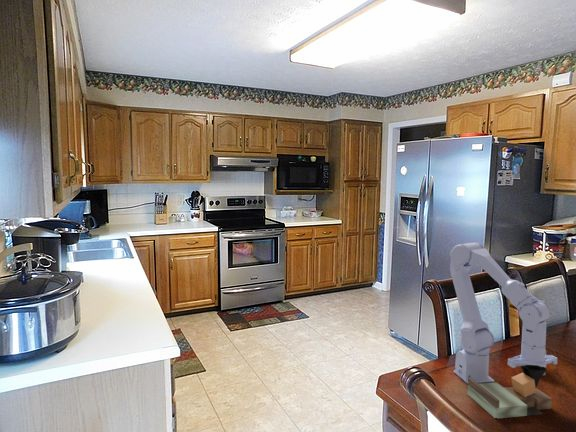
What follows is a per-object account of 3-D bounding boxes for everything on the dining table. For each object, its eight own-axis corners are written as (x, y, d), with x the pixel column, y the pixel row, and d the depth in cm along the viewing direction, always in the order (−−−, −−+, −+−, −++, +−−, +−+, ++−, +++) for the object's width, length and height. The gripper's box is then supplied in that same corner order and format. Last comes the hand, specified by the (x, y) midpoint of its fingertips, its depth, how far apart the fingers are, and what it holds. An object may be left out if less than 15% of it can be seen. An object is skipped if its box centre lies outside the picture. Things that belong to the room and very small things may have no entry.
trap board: (495, 418, 100) (496, 400, 100) (467, 394, 112) (468, 378, 112) (557, 412, 103) (558, 395, 103) (523, 389, 115) (524, 373, 115)
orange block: (524, 397, 105) (522, 384, 105) (513, 389, 109) (511, 377, 109) (536, 391, 106) (534, 379, 105) (524, 384, 110) (522, 372, 109)
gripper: (521, 350, 102) (519, 398, 103) (567, 347, 104) (565, 394, 105) (503, 340, 109) (501, 385, 110) (546, 337, 111) (544, 381, 112)
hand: (531, 388), depth 108 cm, fingers closed, pressing on orange block
